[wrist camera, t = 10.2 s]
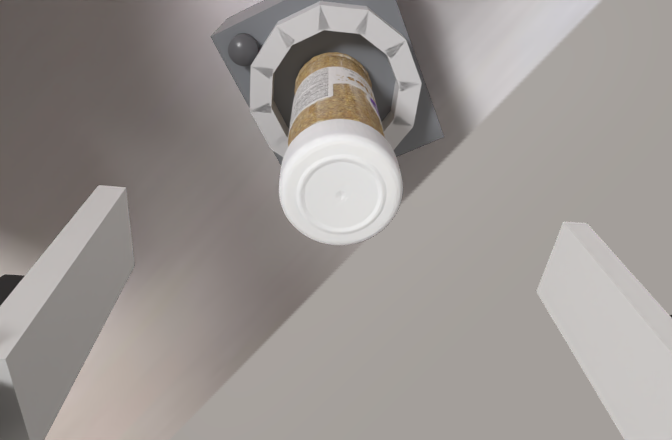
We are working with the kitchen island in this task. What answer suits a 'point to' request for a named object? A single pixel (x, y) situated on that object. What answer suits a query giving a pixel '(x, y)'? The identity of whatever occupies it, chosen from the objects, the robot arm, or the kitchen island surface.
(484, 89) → the kitchen island surface
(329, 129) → the sprinkles bottle
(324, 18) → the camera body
